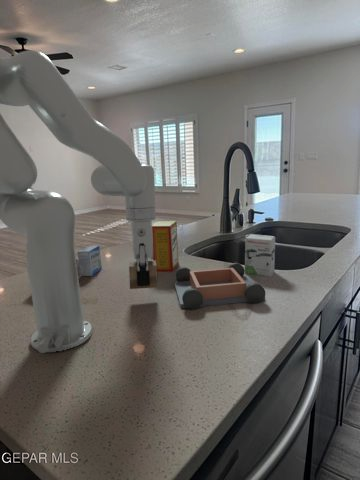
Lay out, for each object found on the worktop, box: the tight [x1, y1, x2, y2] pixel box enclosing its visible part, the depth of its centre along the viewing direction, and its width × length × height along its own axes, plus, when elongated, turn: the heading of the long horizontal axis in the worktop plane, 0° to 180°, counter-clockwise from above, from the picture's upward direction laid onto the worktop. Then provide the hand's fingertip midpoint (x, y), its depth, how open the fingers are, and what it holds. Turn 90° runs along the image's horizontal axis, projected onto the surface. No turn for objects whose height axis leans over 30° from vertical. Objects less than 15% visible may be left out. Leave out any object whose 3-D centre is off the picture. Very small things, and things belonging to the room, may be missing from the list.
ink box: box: [244, 233, 276, 277], centre depth 106 cm, size 9×5×12 cm, turn 61°
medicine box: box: [77, 245, 103, 277], centre depth 114 cm, size 8×4×9 cm, turn 168°
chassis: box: [173, 262, 266, 310], centre depth 92 cm, size 19×22×5 cm
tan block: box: [128, 258, 158, 290], centre depth 89 cm, size 5×7×7 cm
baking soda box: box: [152, 220, 180, 273], centre depth 115 cm, size 10×6×16 cm
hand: (143, 281), depth 89 cm, fingers closed on tan block, 5 cm apart
